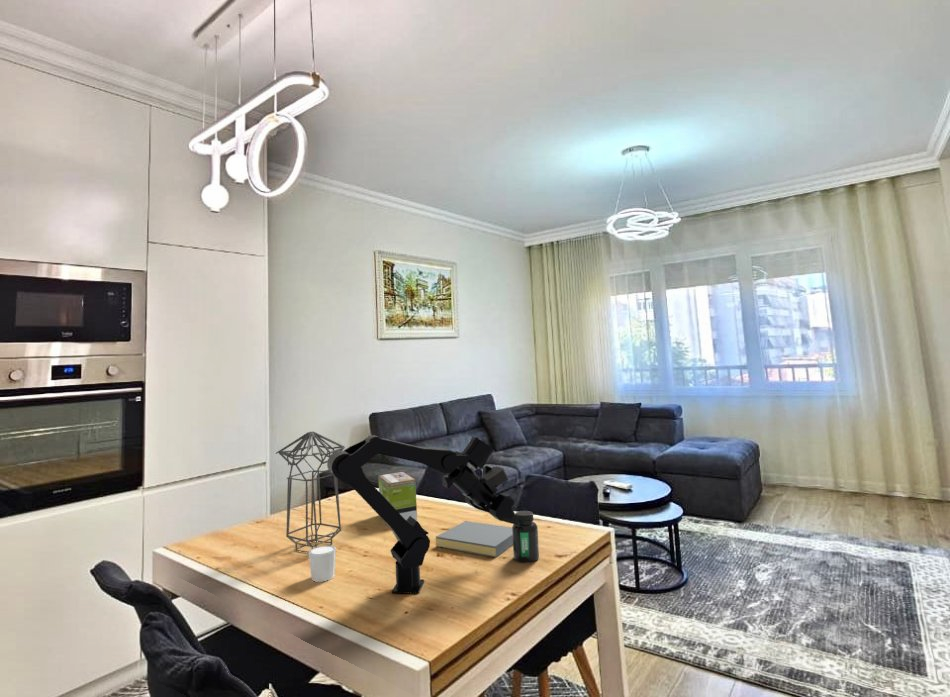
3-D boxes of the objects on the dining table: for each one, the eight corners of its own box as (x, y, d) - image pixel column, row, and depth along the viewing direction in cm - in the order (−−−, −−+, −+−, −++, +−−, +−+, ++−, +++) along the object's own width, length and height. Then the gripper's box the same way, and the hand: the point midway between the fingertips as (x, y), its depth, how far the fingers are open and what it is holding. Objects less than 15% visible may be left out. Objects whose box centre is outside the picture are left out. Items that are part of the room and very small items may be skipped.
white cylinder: (327, 570, 130) (326, 543, 131) (342, 575, 126) (341, 548, 126) (303, 579, 125) (302, 551, 126) (319, 585, 121) (318, 556, 121)
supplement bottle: (529, 565, 127) (527, 518, 128) (508, 559, 131) (506, 514, 132) (544, 556, 132) (541, 511, 133) (523, 551, 137) (521, 508, 137)
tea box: (379, 515, 179) (377, 474, 180) (405, 510, 184) (403, 471, 184) (390, 526, 166) (388, 482, 166) (418, 521, 170) (416, 478, 171)
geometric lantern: (316, 536, 159) (313, 428, 160) (352, 543, 151) (348, 429, 152) (275, 553, 145) (271, 434, 147) (311, 561, 137) (307, 436, 139)
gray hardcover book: (495, 557, 133) (494, 546, 133) (435, 547, 143) (435, 536, 144) (521, 538, 147) (521, 528, 147) (465, 530, 157) (465, 520, 157)
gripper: (505, 463, 120) (545, 501, 125) (472, 453, 137) (508, 487, 141) (479, 501, 116) (521, 538, 121) (448, 486, 133) (486, 519, 138)
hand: (509, 518), depth 130 cm, fingers open, 9 cm apart
